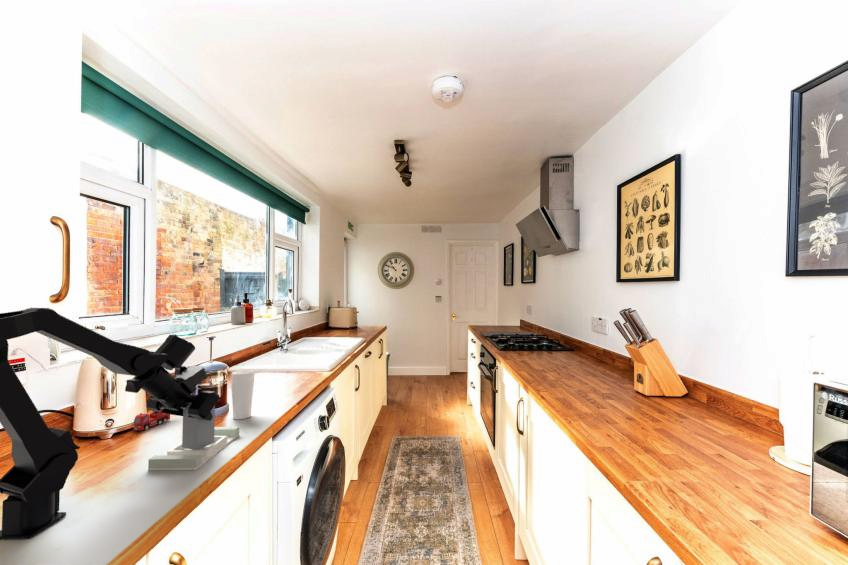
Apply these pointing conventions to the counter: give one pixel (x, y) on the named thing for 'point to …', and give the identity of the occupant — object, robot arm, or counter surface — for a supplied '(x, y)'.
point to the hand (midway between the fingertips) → (203, 417)
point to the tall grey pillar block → (197, 431)
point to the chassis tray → (193, 452)
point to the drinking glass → (242, 393)
